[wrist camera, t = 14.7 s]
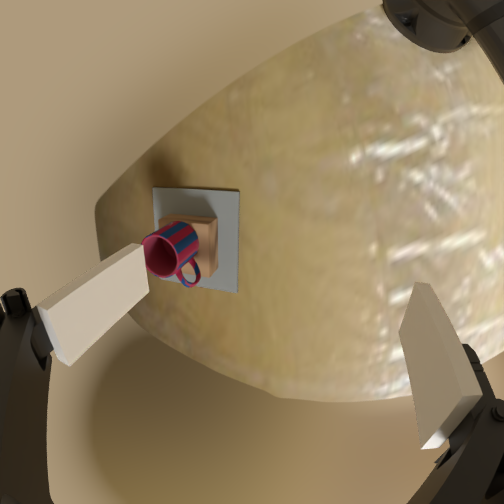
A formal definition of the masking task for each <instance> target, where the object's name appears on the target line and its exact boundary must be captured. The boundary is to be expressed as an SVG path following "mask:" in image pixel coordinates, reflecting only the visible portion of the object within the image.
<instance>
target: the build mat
mask: <svg viewBox="0 0 504 504" xmlns="http://www.w3.org/2000/svg"><path fill="white" fill-rule="evenodd" d="M239 198H240V192H236V191H222V190H205V189H185V188H159V187H153V207H154V222H155V231H157V230H159V225H158V220H159V219H161V218H163V217H164V216H166V215H168V214H181V215H193V216H204V217H214V218H218V269H217V270H216V271H215V272H214V273H213V275H212V276H211V277H210V278H208V277H202V276H201V279H200V281H199V282H198V283H197V284H196V285H195V286H199V287H205V288H210V289H216V290H221V291H227V292H233V293H238V248H239ZM182 274H183V276H184V278H185V279H186V280H187V281H189V282H191V283H193V282H195V280H196V275H190V274H185V273H182ZM160 279H163V280H168V281H173V282H178V283H181V282H180V281H179V279H178V278H177V276H176V274H174V275H173V276H171V277H168V278H161V277H160Z"/></svg>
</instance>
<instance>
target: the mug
mask: <svg viewBox="0 0 504 504" xmlns="http://www.w3.org/2000/svg"><path fill="white" fill-rule="evenodd" d="M141 245H143V249H144V257H145V265H146V268H147V269H148V270H149V271H150V272H151V273H152V274H154V275H155V276H158V277H161V278H168V277H171V276H173V275H174V274H176V276H177V278H178V279H179V281H180V282H181V283H182V284H183V285H184V286H186V287H193V286H195V285H196V284H197V283H198V282H199V281H200V279H201V272H200V269H199V267H198V265H197V263H196V261H195V259H194V256H195V255H196V253H197V251H198V248H199V240H198V236H197V234H196V232H195V231H194V229H193V228H192V227H191V226H190V225H188V224H187V223H185V222H182V221H173V222H171V223H169V224H167V225H165V226H164V227H162V228H160V229H159V230H157V231H155V232H153V233H152V234H150V235H148V236H147V237H145V238H144V239H143V241H142V243H141ZM188 262H189V263H190V264H191V266H192V267H193V269H194V271H195V274H196V280H195V282H193V283H191V282H189V281H187V280H186V279H185V278H184V276H183V274H182V270H181V268H182V267H183V266H184V265H185V264H186V263H188Z"/></svg>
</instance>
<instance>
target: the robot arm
mask: <svg viewBox="0 0 504 504" xmlns="http://www.w3.org/2000/svg"><path fill="white" fill-rule="evenodd" d="M383 6H384V9H385V12H386V14H387V16H388V18H389V19H390V21H391V22H392V24H393V25H394V26H395V27H396V28H397V30H398V31H399V32H400V33H402V34H403V35H404V36H405V37H406V38H408V39H409V40H410V41H412V42H413V43H415V44H417V45H418V46H420V47H422V48H425V49H427V50H430V51H433V52H438V53H451V52H455V51H457V50H459V49H461V48H462V47H464V46H465V45H466V44H467V43H468V42H469V40H470V38H471V36H472V35H473V37H474V38H475V40H476V41H477V42H478V44H479V45H480V47H481V48H482V50H483V51H484V53H485V54H486V56H487V57H488V59H489V60H490V62H491V64H492V65H493V67H494V68H495V70H496V72H497V74H498V75H499V77H500V79H501V81H502V82H503V84H504V0H383ZM147 293H149V287H148V280H147V273H146V265H145V257H144V249H143V245H140V244H133V243H131V244H130V245H128V246H126V247H125V248H123V249H121V250H120V251H118V252H116V253H115V254H113V255H112V256H110V257H108V258H107V259H105V260H104V261H102V262H100V263H99V264H97V265H96V266H94V267H92V268H91V269H89V270H88V271H86V272H85V273H83V274H82V275H80V276H79V277H77V278H75V279H74V280H72V281H71V282H69V283H68V284H66V285H65V286H64V287H62V288H61V289H59V290H58V291H56V292H55V293H53V294H52V295H50V296H49V297H47V298H46V299H44V300H43V301H42V302H40V303H39V304H37V306H35V307H34V308H32V309H31V306H30V303H29V300H28V297H27V294H26V291H25V290H24V289H23V288H14V289H11V290H9V291H7V292H5V293H4V294H3V295H2V296H1V297H0V298H1V301H2V304H3V306H4V309H5V312H4V311H3V308H2V306H1V304H0V504H54V503H53V501H52V499H51V497H50V493H49V482H48V470H47V448H46V447H47V446H46V445H47V442H46V432H47V404H48V391H49V381H50V372H51V364H52V357H51V355H50V352H51V351H52V350H54V351H55V353H56V355H57V358H58V360H59V361H61V362H63V363H65V364H66V365H68V366H71V365H72V364H73V363H74V362H75V361H76V360H77V359H78V358H79V357H80V356H81V355H82V354H83V353H84V352H85V351H86V350H87V349H88V348H89V347H90V346H91V345H93V344H94V343H95V342H96V341H97V340H98V339H99V338H100V337H101V336H102V335H103V334H104V333H105V332H106V331H107V330H108V329H109V328H110V327H111V326H112V325H114V324H115V323H116V322H117V321H118V320H119V319H120V318H121V317H122V316H123V315H124V314H126V313H127V312H128V311H129V310H130V309H131V308H132V307H133V306H134V305H135V304H136V303H137V302H139V301H140V300H141V299H142V298H143V297H144V296H145V295H146V294H147ZM399 336H400V340H401V344H402V348H403V352H404V356H405V360H406V365H407V369H408V374H409V379H410V384H411V389H412V394H413V399H414V405H415V411H416V417H417V424H418V432H419V439H420V448H421V449H428V448H439V447H440V446H441V445H442V444H443V443H444V442H445V441H446V440H447V439H448V438H449V444H450V447H449V448H448V449H447V450H446V451H445V453H443V454H442V455H441V456H440V458H438V459H437V460H436V461H435V463H437V465H436V466H435V468H434V469H433V471H432V472H431V473H430V475H429V476H428V478H427V479H426V480H425V482H424V483H423V484H422V486H421V487H420V488H419V490H418V491H417V492H416V493H415V494H414V496H413V497H412V498H411V499H410V501H409V502H408V503H407V504H504V401H503V400H501V399H496V398H495V395H494V393H493V390H492V388H491V386H490V383H489V381H488V378H487V376H486V374H485V372H483V367H482V365H481V364H480V361H479V358H478V356H477V354H476V352H475V351H474V350H473V349H472V348H471V347H470V346H469V345H468V344H461V342H460V340H459V338H458V336H457V334H456V332H455V330H454V328H453V326H452V324H451V322H450V320H449V318H448V316H447V314H446V312H445V310H444V308H443V307H442V305H441V303H440V301H439V299H438V297H437V296H436V294H435V292H434V290H433V289H432V287H431V285H430V284H428V283H420V282H415V284H414V287H413V291H412V294H411V297H410V300H409V303H408V306H407V309H406V312H405V315H404V318H403V321H402V324H401V327H400V330H399Z"/></svg>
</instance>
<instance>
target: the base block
mask: <svg viewBox="0 0 504 504" xmlns="http://www.w3.org/2000/svg"><path fill="white" fill-rule="evenodd" d="M173 221H182V222H185V223H187V224H188V225H190V226H191V227H192V228H193V229H194V231H195V232H196V234H197V236H198V240H199V248H198V251H197V253H196V255H195V256H194V259H195V261H196V263H197V265H198V267H199V269H200V272H201V276H202V277H208V278H210V277H211V276H212V275H213V273H214V272H215V271H216V270H217V269H218V218H214V217H204V216H193V215H181V214H168V215H166V216H164V217H163V218H161V219H159V220H158V225H159V229H160V228H162V227H164V226H165V225H167V224H169V223H171V222H173ZM181 270H182V273H185V274H190V275H196V274H195V271H194V269H193V267H192V266H191V264H190V263H189V262H188V263H186V264H185V265H184V266H183V267H182V268H181Z"/></svg>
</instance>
